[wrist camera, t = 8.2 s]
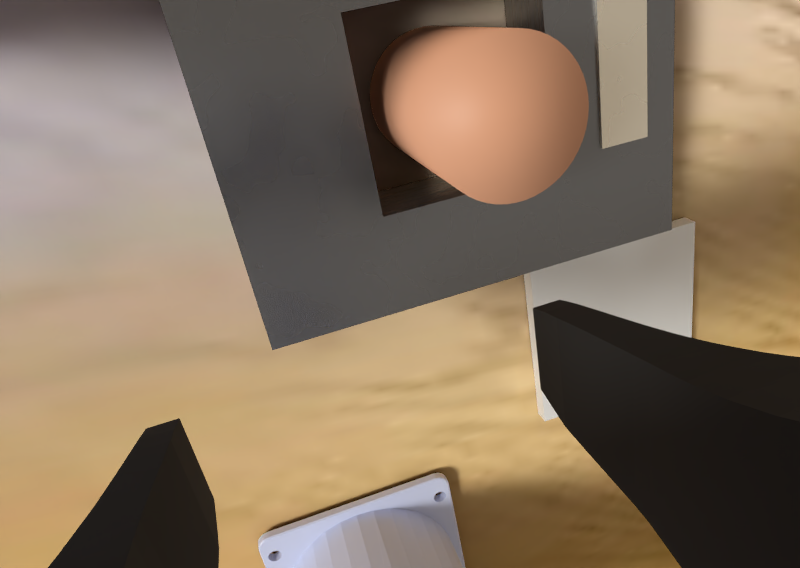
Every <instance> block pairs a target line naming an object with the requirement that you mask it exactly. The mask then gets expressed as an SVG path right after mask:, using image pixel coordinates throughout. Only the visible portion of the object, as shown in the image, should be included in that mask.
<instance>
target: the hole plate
mask: <svg viewBox="0 0 800 568" xmlns="http://www.w3.org/2000/svg"><path fill="white" fill-rule="evenodd" d="M393 1H398V0H159V2H160V5H161V8H162V11H163V14H164V17H165V21H166V24H167V27H168V30H169V33H170V36H171V39H172V42H173V45H174V48H175V51H176V54H177V57H178V61H179V64H180V67H181V70H182V73H183V76H184V79H185V82H186V85H187V88H188V91H189V94H190V97H191V101H192V104H193V107H194V110H195V113H196V116H197V119H198V122H199V125H200V128H201V131H202V134H203V137H204V141H205V144H206V147H207V150H208V153H209V156H210V159H211V162H212V165H213V168H214V171H215V174H216V177H217V181H218V184H219V187H220V190H221V193H222V196H223V199H224V202H225V205H226V208H227V211H228V214H229V217H230V221H231V224H232V227H233V230H234V233H235V236H236V239H237V242H238V245H239V248H240V251H241V254H242V257H243V261H244V264H245V267H246V270H247V273H248V276H249V279H250V282H251V285H252V288H253V291H254V294H255V297H256V301H257V304H258V307H259V310H260V313H261V316H262V319H263V322H264V325H265V328H266V331H267V334H268V337H269V341H270V344H271V347H272V350H274V349H278V348H281V347H284V346H288V345H291V344H294V343H298V342H301V341H304V340H308V339H311V338H314V337H318V336H321V335H324V334H328V333H331V332H334V331H337V330H341V329H344V328H347V327H351V326H354V325H357V324H361V323H364V322H367V321H371V320H374V319H377V318H381V317H384V316H387V315H391V314H394V313H397V312H401V311H404V310H407V309H410V308H414V307H417V306H420V305H424V304H427V303H430V302H434V301H437V300H440V299H444V298H447V297H450V296H454V295H457V294H460V293H464V292H467V291H470V290H473V289H477V288H480V287H483V286H487V285H490V284H493V283H497V282H500V281H503V280H507V279H510V278H513V277H517V276H520V275H523V274H527V273H530V272H533V271H537V270H540V269H543V268H546V267H550V266H553V265H556V264H560V263H563V262H566V261H570V260H573V259H576V258H580V257H583V256H586V255H590V254H593V253H596V252H600V251H603V250H606V249H610V248H613V247H616V246H619V245H623V244H626V243H629V242H633V241H636V240H639V239H643V238H646V237H649V236H653V235H656V234H659V233H663V232H666V231H669V230H672V172H673V98H674V23H675V0H504V5H505V15H506V25H507V28H526V29H532V30H537V31H540V32H543V33H545V34H548V35H550V36H551V37H553V38H555V39H556V40H558V41H559V42H560V43H561V44H563V45H564V46H565V47H566V48H567V49H568V50H569V51H570V53H571V54H572V55H573V56H574V58H575V59H576V61H577V62H578V64H579V66H580V68H581V70H582V73H583V75H584V78H585V82H586V85H587V91H588V100H589V112H588V121H587V127H586V131H585V135H584V138H583V141H582V143H581V146H580V148H579V151H578V152H577V154H576V156H575V158H574V160H573V161H572V163H571V164H570V166H569V167H568V169H567V170H566V171H565V172H564V173H563V175H562V176H561V177H560V178H559V179H558V180H557V181H556V182H555V183H553V184H552V185H551V186H550V187H548V188H547V189H546V190H544V191H543V192H541V193H539V194H538V195H536V196H534V197H532V198H529V199H527V200H524V201H521V202H517V203H511V204H490V203H485V202H481V201H478V200H475V199H473V198H471V197H469V196H467V195H465V194H464V193H462V192H461V191H459V190H458V189H456V188H455V187H453V186H452V185H451V184H449V183H448V182H446V181H445V180H443V179H442V178H440V177H439V176H436V177H433V178H429V179H425V180H421V181H417V182H414V183H410V184H406V185H402V186H399V187H395V188H391V189H387V190H383V191H380V192H378V190H377V185H376V180H375V176H374V171H373V166H372V161H371V156H370V152H369V147H368V142H367V137H366V132H365V127H364V123H363V118H362V113H361V108H360V103H359V99H358V94H357V89H356V84H355V79H354V74H353V70H352V65H351V60H350V55H349V50H348V46H347V41H346V36H345V31H344V26H343V21H342V17H341V12H345V11H350V10H355V9H360V8H364V7H369V6H374V5H379V4H383V3H388V2H393Z"/></svg>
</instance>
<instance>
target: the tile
mask: <svg viewBox="0 0 800 568" xmlns="http://www.w3.org/2000/svg"><path fill="white" fill-rule="evenodd" d="M694 245H695V221H692V220H690V219H688V218H685V217H684V218H680V219H677V220H674V221H672V230H669V231H666V232H663V233H659V234H656V235H653V236H649V237H646V238H643V239H639V240H636V241H633V242H629V243H626V244H623V245H619V246H616V247H613V248H610V249H606V250H603V251H600V252H596V253H593V254H590V255H586V256H583V257H580V258H576V259H573V260H570V261H566V262H563V263H560V264H556V265H553V266H550V267H546V268H543V269H540V270H537V271H533V272H530V273H527V274H524V283H525V292H526V302H527V311H528V321H529V331H530V340H531V350H532V359H533V369H534V378H535V388H536V397H537V407H538V414H539V415H540V416H541V417H542V418H543V420H544V421H547V420H550V419H553V418H556V417H559V416H558V415H557V413H556V412H555V411H554V409H553V407H552V406H551V404H550V403H549V401H548V400H547V398H546V396H545V395H544V393H543V392H542V390H541V387H540V377H539V367H538V357H537V347H536V337H535V327H534V316H533V308H534V307H538V306H541V305H544V304H547V303H550V302H554V301H557V300H564V301H568V302H572V303H576V304H579V305H582V306H586V307H589V308H592V309H595V310H599V311H602V312H605V313H608V314H611V315H614V316H617V317H621V318H624V319H627V320H630V321H633V322H637V323H640V324H643V325H647V326H650V327H653V328H657V329H660V330H664V331H667V332H671V333H675V334H679V335H683V336H687V337H691V338H692V309H693V277H694Z"/></svg>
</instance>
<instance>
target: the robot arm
mask: <svg viewBox="0 0 800 568" xmlns="http://www.w3.org/2000/svg"><path fill="white" fill-rule="evenodd" d="M533 316H534V327H535V337H536V347H537V357H538V367H539V377H540V387H541V390H542V392H543V393H544V395H545V396H546V398H547V400H548V401H549V403H550V404H551V406H552V407H553V409H554V411H555V412H556V413H557V415H558V416H559V418H560V419H561V421H562V422H563V424H564V425H565V427H566V428H567V429H568V430H569V431H570V432H571V434H572V435H573V436H574V437H575V438H576V439H577V441H578V442H579V443H580V444H581V445H582V446H583V447H584V449H585V450H586V451H587V452H588V453H589V454H590V455H591V456H592V458H593V459H594V460H595V461H596V462H597V463H598V464H599V465H600V467H601V468H602V469H603V470H604V471H605V472H606V473H607V474H608V476H609V477H610V478H611V479H612V480H613V481H614V482H615V483H616V485H617V486H618V487H619V488H620V489H621V490H622V491H623V492H624V494H625V495H626V496H627V497H628V498H629V499H630V500H631V501H632V502H633V504H634V505H635V506H636V507H637V508H638V510H639V511H640V512H641V513H642V514H643V516H644V517H645V518H646V519H647V521H648V522H649V523H650V524H651V526H652V527H653V528H654V530H655V531H656V533H657V534H658V535H659V537H660V538H661V540H662V541H663V542H664V544H665V545H666V547H667V548H668V549H669V551H670V552H671V553H672V555H673V556H674V558H675V559H676V560H677V562H678V563H679V565H680V566H681V567H682V568H800V357H794V356H785V355H778V354H771V353H764V352H758V351H753V350H747V349H742V348H736V347H731V346H725V345H720V344H716V343H711V342H707V341H702V340H698V339H694V338H691V337H687V336H683V335H679V334H675V333H671V332H667V331H664V330H660V329H657V328H653V327H650V326H647V325H643V324H640V323H637V322H633V321H630V320H627V319H624V318H621V317H617V316H614V315H611V314H608V313H605V312H602V311H599V310H595V309H592V308H589V307H586V306H582V305H579V304H576V303H572V302H568V301H564V300H557V301H554V302H550V303H547V304H544V305H541V306H538V307H534V308H533ZM438 492H441V493H440V494H439V495H436V494H437V493H438ZM258 546H259V552H260V555H261V557H262V559H263V562H264V564H265V567H266V568H466V567H465V562H464V557H463V552H462V547H461V542H460V537H459V532H458V527H457V522H456V517H455V512H454V507H453V501H452V496H451V491H450V486H449V482H448V480H447V478H446V476H445V475H444V474H442V473H433V474H430V475H428V476H425V477H422V478H419V479H416V480H413V481H411V482H408V483H405V484H402V485H399V486H396V487H394V488H391V489H388V490H385V491H382V492H379V493H376V494H374V495H371V496H368V497H365V498H362V499H359V500H357V501H354V502H351V503H348V504H345V505H342V506H340V507H337V508H334V509H331V510H328V511H325V512H323V513H320V514H317V515H314V516H311V517H308V518H305V519H303V520H300V521H297V522H294V523H291V524H288V525H286V526H283V527H280V528H277V529H274V530H271V531H269V532H266V533H264V534H263V535H262V536H261V537H260V538H259V540H258ZM273 551H279V552H277V553H274V554H272V553H271V552H273ZM218 563H219V544H218V532H217V522H216V512H215V503H214V498H213V496H212V493H211V491H210V489H209V486H208V484H207V482H206V479H205V477H204V475H203V472H202V470H201V468H200V465H199V463H198V461H197V458H196V456H195V454H194V451H193V449H192V447H191V444H190V442H189V440H188V437H187V435H186V433H185V430H184V428H183V426H182V423H181V421H180V419H176V420H173V421H169V422H166V423H163V424H160V425H156V426H153V427H150V428H147V429H146V430H145V431H144V432H143V434H142V435H141V437H140V438H139V440H138V441H137V443H136V444H135V446H134V447H133V449H132V450H131V452H130V454H129V455H128V457H127V458H126V460H125V461H124V463H123V464H122V466H121V467H120V469H119V471H118V472H117V474H116V475H115V477H114V478H113V480H112V481H111V482H110V484H109V485H108V487H107V488H106V490H105V491H104V493H103V494H102V496H101V497H100V499H99V500H98V502H97V503H96V505H95V506H94V508H93V509H92V510H91V512H90V513H89V514H88V516H87V517H86V518H85V520H84V521H83V522H82V524H81V525H80V526H79V528H78V529H77V530H76V532H75V533H74V534H73V536H72V537H71V538H70V540H69V541H68V542H67V544H66V545H65V547H64V548H63V549H62V551H61V552H60V553H59V555H58V556H57V557H56V558H55V560H54V561H53V562H52V563H51V564H50V566H49V567H48V568H218Z"/></svg>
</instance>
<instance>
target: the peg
mask: <svg viewBox="0 0 800 568" xmlns="http://www.w3.org/2000/svg"><path fill="white" fill-rule="evenodd" d="M370 103H371V109H372V113H373V116H374V119H375V122H376V124H377V126H378V128H379V129H380V131H381V132H382V134H383V135H384V136H385V137H386V138H387V140H388V141H389V142H391V143H392V144H393V145H394V146H395V147H397V148H398V149H400V150H401V151H403V152H404V153H406V154H407V155H409V156H410V157H411V158H413V159H414V160H416V161H417V162H419V163H420V164H422V165H423V166H424V167H426V168H427V169H429V170H430V171H432V172H433V173H435V174H436V175H438V176H439V177H440V178H442V179H443V180H445V181H446V182H448V183H449V184H451V185H452V186H453V187H455V188H456V189H458V190H459V191H461V192H462V193H464V194H465V195H467V196H469V197H471V198H473V199H475V200H478V201H481V202H485V203H490V204H511V203H517V202H521V201H524V200H527V199H529V198H532V197H534V196H536V195H538V194H539V193H541V192H543V191H544V190H546V189H547V188H548V187H550V186H551V185H552V184H553V183H555V182H556V181H557V180H558V179H559V178H560V177H561V176H562V175H563V173H564V172H565V171H566V170H567V169H568V167H569V166H570V164H571V163H572V161H573V160H574V158H575V156H576V154H577V152H578V151H579V148H580V146H581V143H582V141H583V138H584V135H585V131H586V127H587V121H588V112H589V100H588V91H587V85H586V82H585V78H584V75H583V73H582V70H581V68H580V66H579V64H578V62H577V61H576V59H575V58H574V56H573V55H572V54H571V53H570V51H569V50H568V49H567V48H566V47H565V46H564V45H563V44H561V43H560V42H559V41H558V40H556V39H555V38H553V37H551V36H550V35H548V34H545V33H543V32H540V31H537V30H532V29H526V28H499V27H458V26H424V27H420V28H416V29H413V30H410V31H408V32H406V33H404V34H403V35H401V36H399V37H398V38H397V39H396V40H394V41H393V42H392V43H391V44H390V45H389V46H388V47H387V48H386V50H385V51H384V52H383V54H382V55H381V57H380V59H379V60H378V62H377V64H376V67H375V69H374V72H373V76H372V79H371V86H370Z"/></svg>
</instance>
